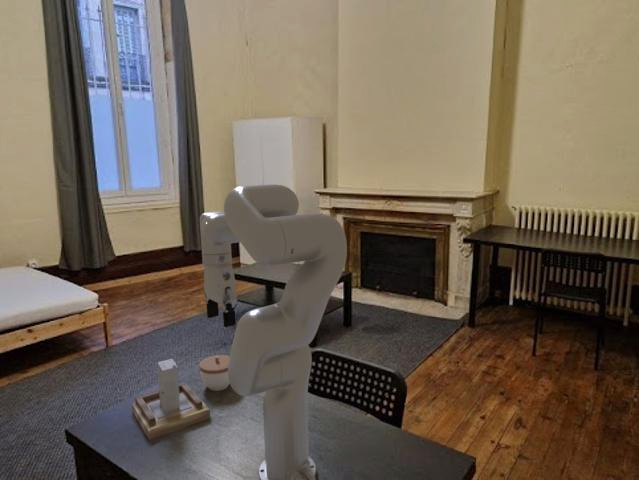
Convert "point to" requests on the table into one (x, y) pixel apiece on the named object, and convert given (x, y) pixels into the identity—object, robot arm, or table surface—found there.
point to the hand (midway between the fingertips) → (221, 321)
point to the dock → (169, 412)
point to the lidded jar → (215, 372)
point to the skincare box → (168, 385)
